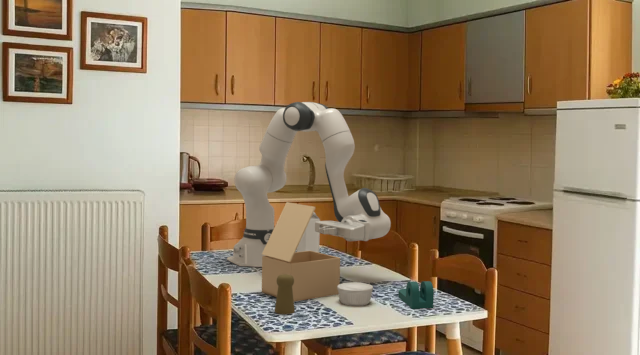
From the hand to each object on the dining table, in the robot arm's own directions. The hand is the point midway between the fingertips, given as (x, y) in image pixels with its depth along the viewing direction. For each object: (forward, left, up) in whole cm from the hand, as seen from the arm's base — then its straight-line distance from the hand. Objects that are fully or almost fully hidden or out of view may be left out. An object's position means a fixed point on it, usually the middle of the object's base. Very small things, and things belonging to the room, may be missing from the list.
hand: (321, 231), depth 239 cm
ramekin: (+19, -1, -20) cm, 28 cm away
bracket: (+29, +16, -20) cm, 38 cm away
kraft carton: (0, -8, -20) cm, 21 cm away
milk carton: (-58, +40, -20) cm, 73 cm away
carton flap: (0, -13, +1) cm, 13 cm away
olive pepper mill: (+16, -26, -20) cm, 37 cm away
